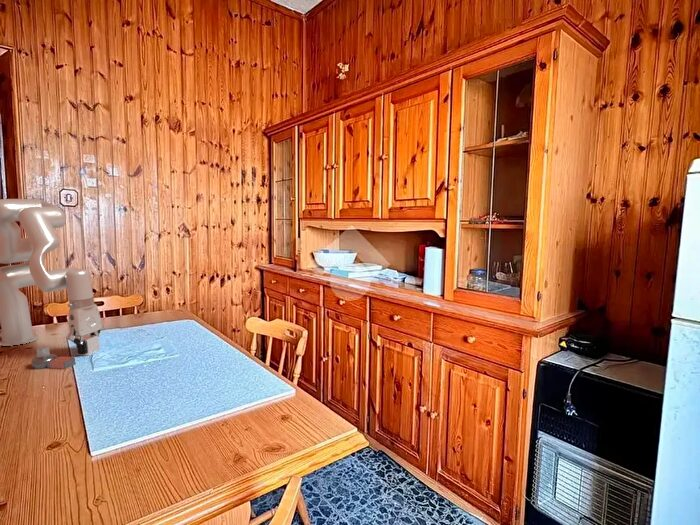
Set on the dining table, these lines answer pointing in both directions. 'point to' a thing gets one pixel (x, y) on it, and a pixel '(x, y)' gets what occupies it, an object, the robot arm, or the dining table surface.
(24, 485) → the dining table surface
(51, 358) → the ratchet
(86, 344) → the brushed aluminum cube
